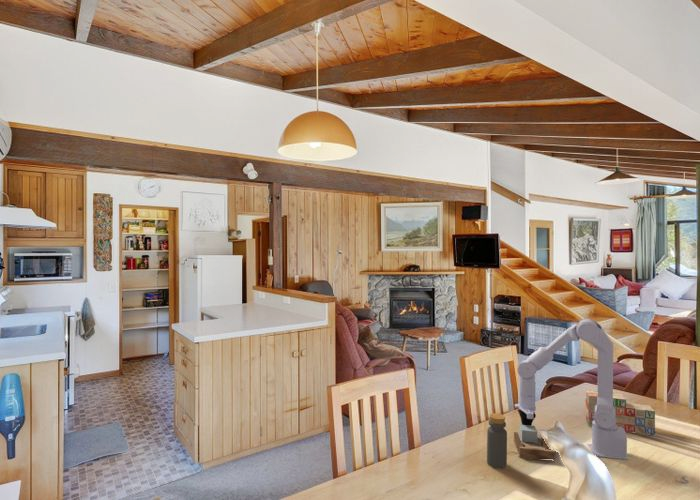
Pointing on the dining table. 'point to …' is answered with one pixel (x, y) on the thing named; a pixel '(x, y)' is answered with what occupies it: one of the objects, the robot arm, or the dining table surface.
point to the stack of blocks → (625, 414)
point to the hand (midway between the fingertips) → (526, 431)
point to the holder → (533, 450)
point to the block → (528, 433)
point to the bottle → (497, 441)
